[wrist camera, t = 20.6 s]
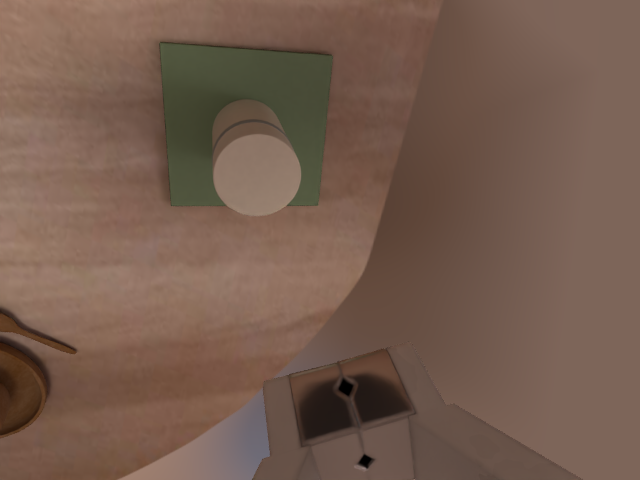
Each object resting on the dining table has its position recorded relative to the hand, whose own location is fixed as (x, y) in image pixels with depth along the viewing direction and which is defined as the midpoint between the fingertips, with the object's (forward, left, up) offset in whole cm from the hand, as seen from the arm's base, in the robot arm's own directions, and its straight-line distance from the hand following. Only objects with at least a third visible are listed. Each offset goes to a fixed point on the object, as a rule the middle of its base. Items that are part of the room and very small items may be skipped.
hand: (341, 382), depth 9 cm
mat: (0, +3, -29) cm, 29 cm away
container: (0, +3, -28) cm, 28 cm away
